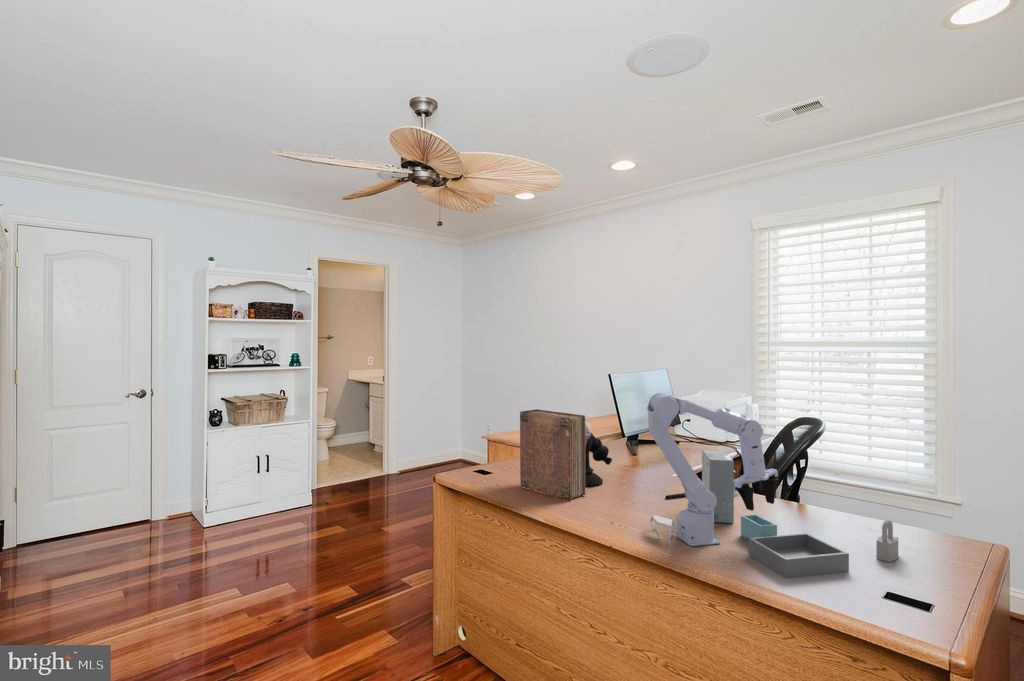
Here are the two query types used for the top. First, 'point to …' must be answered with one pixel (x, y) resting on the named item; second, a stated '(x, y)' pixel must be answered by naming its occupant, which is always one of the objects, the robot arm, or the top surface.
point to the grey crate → (798, 555)
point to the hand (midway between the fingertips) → (760, 506)
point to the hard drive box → (720, 483)
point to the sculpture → (594, 457)
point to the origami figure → (663, 524)
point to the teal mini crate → (756, 527)
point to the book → (553, 453)
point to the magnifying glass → (685, 496)
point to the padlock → (887, 543)
